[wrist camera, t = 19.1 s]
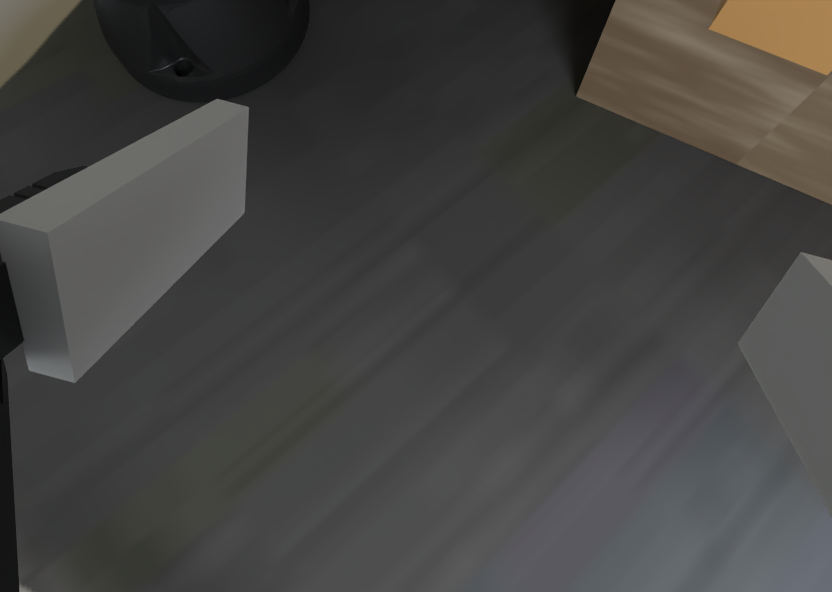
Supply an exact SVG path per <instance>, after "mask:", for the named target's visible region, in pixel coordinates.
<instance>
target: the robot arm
mask: <svg viewBox="0 0 832 592" xmlns="http://www.w3.org/2000/svg"><path fill="white" fill-rule="evenodd" d="M92 1H93V5H94V8H95V11H96V14H97V17H98V21H99V24H100V27H101V30H102V33H103V35H104V37H105V39H106V41H107V43H108V45H109V47H110V48H111V50H112V51H113V53H114V54H115V55H116V57H117V58H118V59H119V60H120V62H121V63H122V64H123V66H124V67H125V68H126V69H127V71H128V72H129V73H130V74H131V75H132V76H133V77H134V78H135V79H136V80H137V81H138V82H139V83H141V84H142V85H143V86H145V87H146V88H148V89H150V90H152V91H154V92H156V93H158V94H160V95H163V96H166V97H169V98H172V99H176V100H182V101H190V102H210V101H212V102H210V103H208V104H206V105H204V106H202V107H201V108H199V109H197V110H195V111H193V112H191V113H189V114H187V115H186V116H184V117H182V118H180V119H178V120H176V121H174V122H172V123H170V124H169V125H167V126H165V127H163V128H161V129H159V130H157V131H155V132H153V133H152V134H150V135H148V136H146V137H144V138H142V139H140V140H138V141H136V142H135V143H133V144H131V145H129V146H127V147H125V148H123V149H121V150H119V151H118V152H116V153H114V154H112V155H110V156H108V157H106V158H104V159H102V160H101V161H99V162H97V163H95V164H93V165H91V166H89V167H86V166H82V167H77V168H73V169H69V170H64V171H60V172H56V173H53V174H51V175H49V176H47V177H45V178H43V179H41V180H39V181H37V182H35V183H33V185H32V187H30V186H27V187H25V188H23V189H21V190H19V191H17V192H15V193H14V196H10V195H9V196H7V197H5V198H3V199H1V200H0V592H19V577H18V559H17V541H16V523H15V506H14V488H13V470H12V452H11V434H10V416H9V399H8V381H7V372H6V368H5V365H4V361H3V358H4V357H5V356H6V355H7V354H8V353H10V352H11V351H12V350H13V349H15V348H16V347H17V346H18V345H19V344H21V343H22V344H23V348H24V352H25V356H26V360H27V364H28V369H29V371H33V372H36V373H40V374H44V375H47V376H51V377H55V378H59V379H62V380H66V381H70V382H73V383H75V382H76V381H77V380H78V379H79V378H80V377H81V376H82V375H83V374H84V373H85V372H86V371H87V370H88V369H89V368H90V367H91V366H92V365H93V364H94V363H95V362H96V361H97V360H98V359H99V358H100V357H101V356H102V355H103V354H104V353H105V352H106V351H107V350H108V349H109V348H110V347H111V346H112V345H113V344H114V343H115V342H116V341H117V340H118V339H119V338H120V337H121V336H122V335H123V334H124V333H125V332H126V331H127V330H128V329H129V328H130V327H131V326H132V325H133V324H134V323H135V322H136V321H137V320H138V319H139V318H140V317H141V316H142V315H143V314H144V313H145V312H146V311H147V310H148V309H149V308H150V307H151V306H152V305H153V304H154V303H155V302H156V301H157V300H158V299H159V298H160V297H161V296H162V295H163V294H164V293H165V292H166V291H167V290H168V289H169V288H170V287H171V286H172V285H173V284H174V283H175V282H176V281H177V280H178V279H179V278H180V277H181V276H182V275H183V274H184V273H185V272H186V271H187V270H188V269H189V268H190V267H191V266H192V265H193V264H194V263H195V262H196V261H197V260H198V259H199V258H200V257H201V256H202V255H203V254H204V253H205V252H206V251H207V250H208V249H209V248H210V247H211V246H212V245H213V244H214V243H215V242H216V241H217V240H218V239H219V238H220V237H221V236H222V235H223V234H224V233H225V232H226V231H227V230H228V229H229V228H230V227H231V226H232V225H233V224H234V223H235V222H236V221H237V220H238V219H239V218H240V217H241V216H242V215H243V214H244V213H245V189H246V165H247V141H248V117H249V107H247V106H243V105H239V104H235V103H231V102H227V101H224V99H228V98H232V97H235V96H239V95H241V94H244V93H246V92H249V91H251V90H253V89H255V88H257V87H259V86H261V85H262V84H264V83H266V82H267V81H268V80H270V79H271V78H273V77H274V76H275V75H276V74H278V73H279V72H280V71H281V70H282V69H283V68H284V67H285V66H286V65H287V64H288V63H289V61H290V60H291V59H292V58H293V56H294V55H295V54H296V52H297V50H298V49H299V47H300V45H301V43H302V41H303V39H304V36H305V34H306V30H307V26H308V21H309V1H308V0H92ZM737 344H738V346H739V348H740V349H741V351H742V353H743V355H744V357H745V358H746V360H747V362H748V364H749V366H750V368H751V369H752V371H753V373H754V375H755V377H756V379H757V380H758V382H759V384H760V386H761V388H762V390H763V391H764V393H765V395H766V397H767V399H768V401H769V402H770V404H771V406H772V408H773V410H774V412H775V413H776V415H777V417H778V419H779V421H780V423H781V424H782V426H783V428H784V430H785V432H786V434H787V435H788V437H789V439H790V441H791V443H792V445H793V446H794V448H795V450H796V452H797V454H798V455H799V457H800V459H801V461H802V463H803V465H804V466H805V468H806V470H807V472H808V474H809V476H810V477H811V479H812V481H813V483H814V485H815V487H816V488H817V490H818V492H819V494H820V496H821V498H822V499H823V501H824V503H825V505H826V507H827V509H828V510H829V512H830V514H831V516H832V260H829V259H825V258H821V257H817V256H813V255H810V254H806V253H802V252H801V253H800V254H799V256H798V257H797V259H796V260H795V261H794V263H793V264H792V266H791V267H790V269H789V270H788V271H787V273H786V274H785V276H784V277H783V279H782V280H781V282H780V283H779V284H778V286H777V287H776V289H775V290H774V292H773V293H772V294H771V296H770V297H769V299H768V300H767V302H766V303H765V305H764V306H763V307H762V309H761V310H760V312H759V313H758V315H757V316H756V317H755V319H754V320H753V322H752V323H751V325H750V326H749V327H748V329H747V330H746V332H745V333H744V335H743V336H742V338H741V339H740V340H739V342H738V343H737Z"/></svg>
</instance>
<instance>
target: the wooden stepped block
mask: <svg viewBox="0 0 832 592" xmlns="http://www.w3.org/2000/svg"><path fill="white" fill-rule="evenodd" d="M721 1H722V0H616V1H615V3H614V5H613V8H612V10H611V13H610V15H609V18H608V20H607V22H606V25H605V27H604V30H603V32H602V35H601V37H600V39H599V42H598V44H597V47H596V49H595V52H594V54H593V56H592V59H591V61H590V64H589V66H588V68H587V71H586V73H585V76H584V78H583V81H582V83H581V85H580V88H579V90H578V93H577V95H576V97H579V98H581V99H583V100H586V101H588V102H590V103H593V104H595V105H597V106H600V107H602V108H604V109H607V110H609V111H612V112H614V113H616V114H619V115H621V116H623V117H626V118H628V119H630V120H633V121H635V122H638V123H640V124H642V125H645V126H647V127H649V128H652V129H654V130H656V131H659V132H661V133H664V134H666V135H668V136H671V137H673V138H675V139H678V140H680V141H682V142H685V143H687V144H689V145H692V146H694V147H697V148H699V149H701V150H704V151H706V152H708V153H711V154H713V155H715V156H718V157H720V158H723V159H725V160H727V161H730V162H732V163H734V164H737V165H739V166H741V167H744V168H746V169H749V170H751V171H753V172H756V173H758V174H760V175H763V176H765V177H767V178H770V179H772V180H774V181H777V182H779V183H782V184H784V185H786V186H789V187H791V188H793V189H796V190H798V191H800V192H803V193H805V194H808V195H810V196H812V197H815V198H817V199H819V200H822V201H824V202H826V203H829V204H831V205H832V71H831V72H830V73H829V74H828V75H825V74H822V73H820V72H817V71H815V70H812V69H809V68H807V67H804V66H802V65H799V64H797V63H794V62H791V61H789V60H786V59H784V58H781V57H779V56H776V55H774V54H771V53H768V52H766V51H763V50H761V49H758V48H756V47H753V46H750V45H748V44H745V43H743V42H740V41H738V40H735V39H733V38H730V37H727V36H725V35H722V34H720V33H717V32H715V31H712V30H709V27H710V25H711V23H712V20H713V18H714V16H715V14H716V12H717V10H718V8H719V5H720V3H721Z"/></svg>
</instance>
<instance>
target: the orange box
mask: <svg viewBox="0 0 832 592" xmlns="http://www.w3.org/2000/svg"><path fill="white" fill-rule="evenodd" d="M709 30H712V31H715V32H717V33H720V34H722V35H725V36H727V37H730V38H733V39H735V40H738V41H740V42H743V43H745V44H748V45H750V46H753V47H756V48H758V49H761V50H763V51H766V52H768V53H771V54H774V55H776V56H779V57H781V58H784V59H786V60H789V61H791V62H794V63H797V64H799V65H802V66H804V67H807V68H809V69H812V70H815V71H817V72H820V73H822V74H825V75H828V74H829V73H830V72H831V71H832V0H722V1H721V3H720V5H719V8H718V10H717V12H716V14H715V16H714V18H713V20H712V23H711V25H710V27H709Z"/></svg>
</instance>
